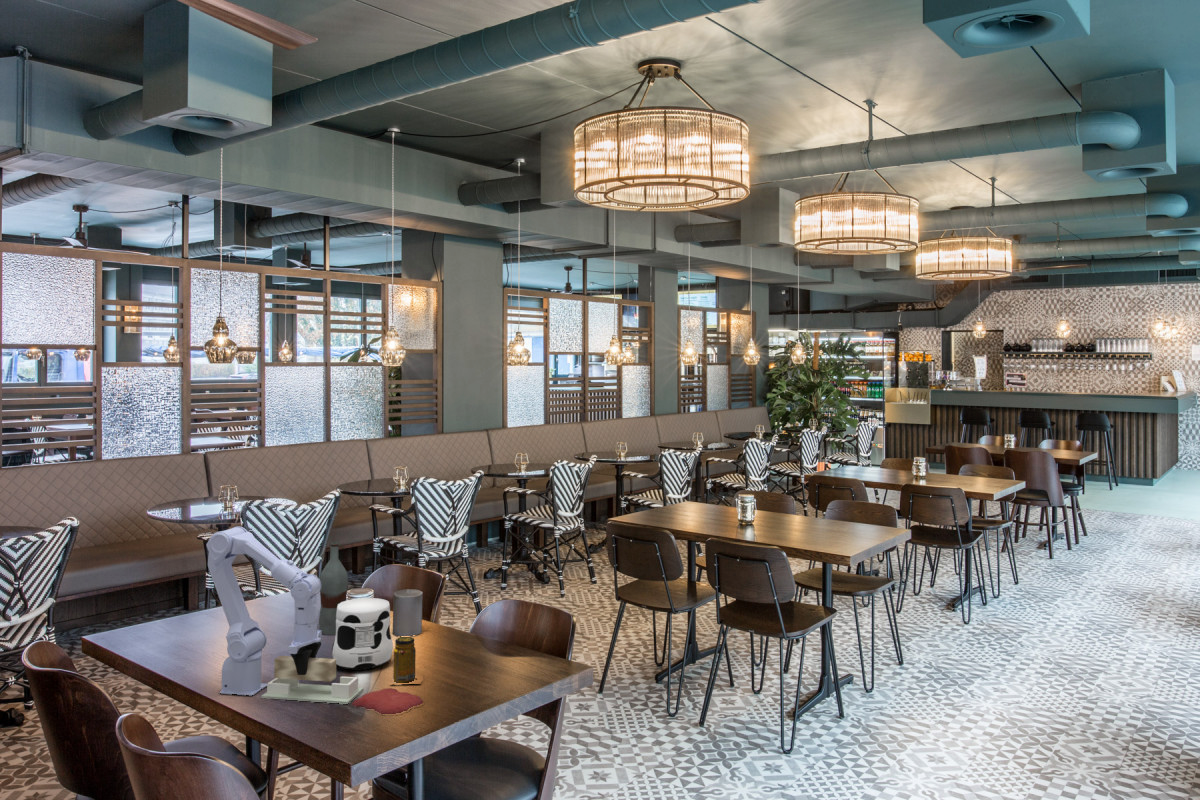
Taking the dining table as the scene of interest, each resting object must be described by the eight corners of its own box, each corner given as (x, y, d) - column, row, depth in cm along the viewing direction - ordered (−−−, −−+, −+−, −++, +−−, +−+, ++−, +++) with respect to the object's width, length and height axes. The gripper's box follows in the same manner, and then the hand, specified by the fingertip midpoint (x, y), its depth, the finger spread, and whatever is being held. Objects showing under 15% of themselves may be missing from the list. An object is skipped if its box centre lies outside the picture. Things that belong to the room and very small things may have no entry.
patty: (345, 706, 208) (345, 698, 208) (384, 689, 220) (384, 682, 220) (394, 721, 199) (394, 713, 199) (432, 703, 211) (432, 695, 211)
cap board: (260, 698, 210) (261, 695, 210) (280, 685, 220) (280, 682, 220) (347, 704, 208) (347, 701, 208) (363, 690, 218) (363, 687, 218)
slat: (274, 678, 214) (274, 659, 214) (279, 674, 217) (280, 655, 217) (331, 681, 212) (331, 662, 212) (336, 677, 215) (336, 659, 215)
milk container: (364, 651, 250) (365, 594, 250) (404, 661, 241) (405, 602, 241) (319, 667, 236) (320, 606, 235) (360, 678, 227) (361, 615, 226)
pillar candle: (390, 630, 272) (390, 586, 272) (418, 627, 277) (419, 584, 276) (395, 639, 264) (396, 594, 263) (425, 635, 268) (425, 591, 267)
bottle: (312, 633, 267) (314, 544, 267) (329, 626, 276) (330, 539, 276) (336, 636, 264) (338, 546, 264) (353, 629, 273) (354, 541, 273)
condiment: (394, 676, 229) (394, 635, 229) (424, 676, 229) (424, 634, 229) (389, 686, 221) (390, 643, 221) (420, 685, 222) (421, 642, 222)
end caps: (267, 693, 213) (267, 679, 212) (278, 685, 218) (278, 672, 218) (348, 698, 210) (348, 685, 210) (358, 690, 216) (358, 677, 216)
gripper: (306, 630, 206) (306, 682, 207) (332, 615, 221) (331, 664, 221) (281, 629, 207) (280, 681, 207) (308, 613, 222) (307, 662, 222)
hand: (305, 672), depth 214 cm, fingers closed on slat, 3 cm apart
